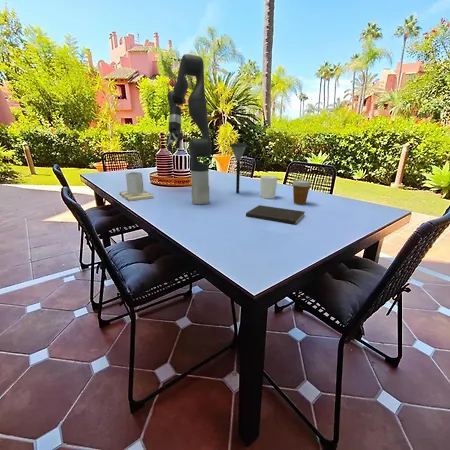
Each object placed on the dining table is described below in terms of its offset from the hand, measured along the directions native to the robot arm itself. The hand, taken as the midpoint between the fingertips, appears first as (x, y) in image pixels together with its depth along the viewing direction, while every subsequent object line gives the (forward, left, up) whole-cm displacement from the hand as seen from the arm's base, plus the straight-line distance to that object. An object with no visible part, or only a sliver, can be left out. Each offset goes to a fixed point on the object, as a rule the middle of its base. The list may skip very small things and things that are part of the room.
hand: (173, 149), depth 164 cm
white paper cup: (-42, -40, -26) cm, 64 cm away
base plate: (+1, +25, -26) cm, 36 cm away
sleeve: (+1, +25, -24) cm, 35 cm away
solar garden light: (-24, -31, -26) cm, 47 cm away
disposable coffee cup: (-62, -45, -26) cm, 81 cm away
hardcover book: (-72, -18, -27) cm, 79 cm away
